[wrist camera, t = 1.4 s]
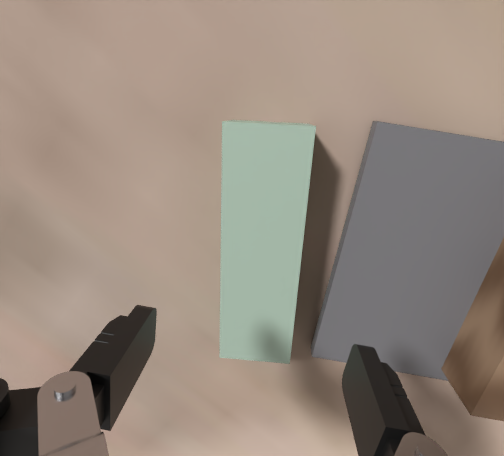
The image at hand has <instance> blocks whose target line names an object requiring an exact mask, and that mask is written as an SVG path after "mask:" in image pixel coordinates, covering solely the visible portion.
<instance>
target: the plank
mask: <svg viewBox="0 0 504 456" xmlns="http://www.w3.org/2000/svg"><path fill="white" fill-rule="evenodd" d="M315 130H316V126H314V125H311V124H303V123H283V122H263V121H243V120H229V121H222V190H221V278H220V357H221V358H232V359H243V360H254V361H265V362H276V363H286V364H290V356H291V347H292V338H293V329H294V320H295V311H296V302H297V293H298V284H299V275H300V266H301V257H302V248H303V239H304V230H305V221H306V212H307V203H308V194H309V184H310V175H311V166H312V157H313V148H314V139H315Z"/></svg>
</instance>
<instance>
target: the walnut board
mask: <svg viewBox="0 0 504 456" xmlns="http://www.w3.org/2000/svg"><path fill="white" fill-rule="evenodd" d="M441 369H442V371H443V373H444V374H445V376H446V377H447V379H448V380H449V382H450V383H451V385H452V387H453V388H454V390H455V391H456V393H457V394H458V396H459V398H460V399H461V401H462V402H463V404H464V405H465V407H466V409H467V410H468V412H469V413H470V415H472V416H478V417H484V418H489V419H495V420H500V421H504V238H503V240H502V242H501V244H500V246H499V248H498V250H497V253H496V255H495V257H494V259H493V261H492V263H491V265H490V267H489V269H488V272H487V274H486V276H485V278H484V280H483V282H482V284H481V286H480V288H479V291H478V293H477V295H476V297H475V299H474V301H473V303H472V305H471V307H470V309H469V312H468V314H467V316H466V318H465V320H464V322H463V324H462V326H461V328H460V331H459V333H458V335H457V337H456V339H455V341H454V343H453V345H452V347H451V350H450V352H449V354H448V356H447V358H446V360H445V362H444V364H443V366H442V368H441Z"/></svg>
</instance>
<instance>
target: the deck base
mask: <svg viewBox="0 0 504 456" xmlns="http://www.w3.org/2000/svg"><path fill="white" fill-rule="evenodd" d="M503 238H504V142H501V141H495V140H489V139H483V138H476V137H470V136H464V135H458V134H452V133H446V132H440V131H434V130H427V129H421V128H415V127H409V126H403V125H397V124H391V123H385V122H378V121H373V123H372V127H371V130H370V134H369V137H368V141H367V145H366V148H365V152H364V156H363V159H362V163H361V167H360V170H359V174H358V177H357V181H356V185H355V188H354V192H353V196H352V199H351V203H350V207H349V210H348V214H347V217H346V221H345V225H344V228H343V232H342V236H341V239H340V243H339V247H338V250H337V254H336V257H335V261H334V265H333V268H332V272H331V276H330V279H329V283H328V287H327V290H326V294H325V298H324V301H323V305H322V308H321V312H320V316H319V319H318V323H317V327H316V330H315V334H314V338H313V341H312V345H311V354H312V357H317V358H323V359H329V360H334V361H340V362H345V363H347V360H348V357H349V354H350V351H351V348H352V346H353V345H354V344H358V345H364V346H370V347H374V348H375V350H376V352H377V354H378V357H379V359H380V361H381V362H383V363H387V364H388V365H389V366H390V367H391V368H392V369H393V371H396V372H402V373H407V374H413V375H419V376H424V377H430V378H436V379H441V380H447V381H449V380H448V379H447V377H446V376H445V374H444V373H443V371H442V369H441V368H442V366H443V364H444V362H445V360H446V358H447V356H448V354H449V352H450V350H451V347H452V345H453V343H454V341H455V339H456V337H457V335H458V333H459V331H460V328H461V326H462V324H463V322H464V320H465V318H466V316H467V314H468V312H469V309H470V307H471V305H472V303H473V301H474V299H475V297H476V295H477V293H478V291H479V288H480V286H481V284H482V282H483V280H484V278H485V276H486V274H487V272H488V269H489V267H490V265H491V263H492V261H493V259H494V257H495V255H496V253H497V250H498V248H499V246H500V244H501V242H502V240H503Z"/></svg>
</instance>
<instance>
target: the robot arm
mask: <svg viewBox="0 0 504 456" xmlns="http://www.w3.org/2000/svg"><path fill="white" fill-rule="evenodd" d="M155 330H156V308H152V307H146V306H141V305H137V306H135V308H134V309H133V310H132V312H131V313H130V314H129V316H128V317H127V316H122V315H120V316H119V317H117V318H115V319H114V320H112V321H110V322H109V323H108V324H107V325H106V327H105V328H104V329H103V330H102V332H101V334H99V335H98V336H97V338H96V339H95V341H94V342H93V343H92V344H91V345H90V346H89V347H88V349H87V350H86V351H85V352H84V354H83V355H82V356H81V357H80V358H79V360H78V361H77V362H76V363H75V365H74V366H73V367H72V368H71V369H70V371H69V372H64V373H61V374H58V375H56V376H54V377H52V378H50V379H49V380H48V381H46V382H45V383H44V384H43V385H42V387H38V388H29V389H19V390H9V388H8V384H7V382H6V381H5V380H3V379H1V378H0V456H109V454H108V449H107V444H106V440H105V436H104V433H103V432H101V430H100V429H104V430H109V431H111V429H112V427H113V425H114V423H115V421H116V419H117V417H118V415H119V414H120V412H121V410H122V408H123V406H124V404H125V402H126V400H127V398H128V397H129V395H130V393H131V391H132V389H133V387H134V385H135V383H136V382H137V380H138V378H139V376H140V374H141V372H142V370H143V368H144V366H145V365H146V363H147V361H148V359H149V357H150V355H151V353H152V350H153V347H154V342H155ZM342 389H343V393H344V398H345V402H346V406H347V410H348V414H349V418H350V422H351V427H352V431H353V435H354V439H355V443H356V447H357V451H358V455H359V456H448V455H447V454H446V452H445V451H444V450H443V449H442V448H441V447H440V446H439V445H438V444H437V443H436V442H435V441H433V440H432V439H430V438H429V437H427V436H426V435H425V433H424V431H423V429H422V427H421V425H420V423H419V420H418V418H417V416H416V414H415V412H414V410H413V408H412V405H411V403H410V401H409V399H407V395H406V393H405V391H404V389H403V388H402V384H401V382H400V380H399V378H398V376H397V374H396V373H395V372H394V371H393V369H392V368H391V367H390V366H389V365H388V364H387V363H383V362H381V361H380V359H379V357H378V354H377V352H376V350H375V348H374V347H370V346H364V345H358V344H354V345H353V346H352V348H351V351H350V354H349V357H348V360H347V363H346V366H345V369H344V373H343V378H342Z"/></svg>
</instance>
